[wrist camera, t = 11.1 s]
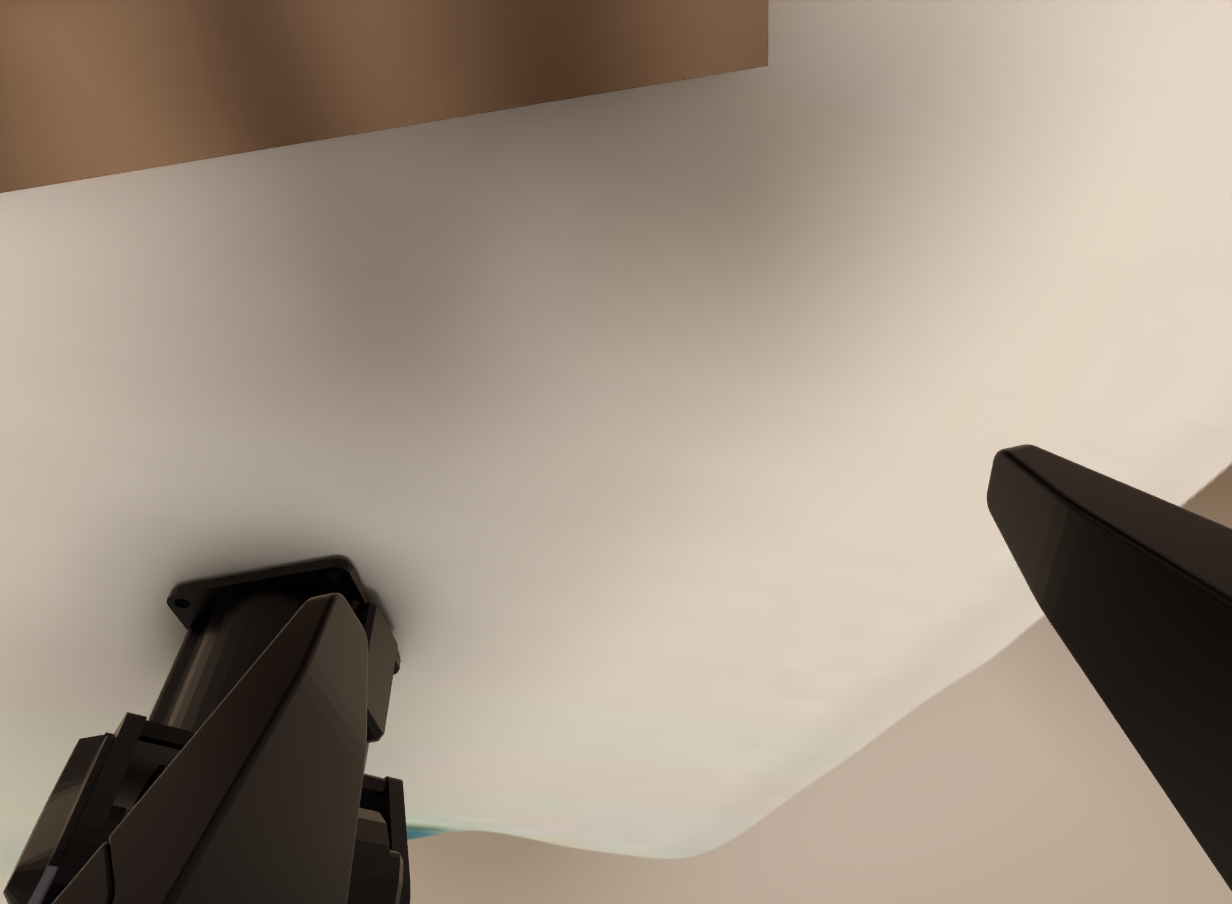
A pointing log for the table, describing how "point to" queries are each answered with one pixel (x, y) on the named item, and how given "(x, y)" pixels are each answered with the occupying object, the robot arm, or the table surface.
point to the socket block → (320, 69)
